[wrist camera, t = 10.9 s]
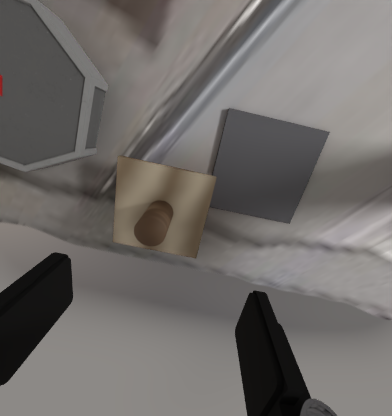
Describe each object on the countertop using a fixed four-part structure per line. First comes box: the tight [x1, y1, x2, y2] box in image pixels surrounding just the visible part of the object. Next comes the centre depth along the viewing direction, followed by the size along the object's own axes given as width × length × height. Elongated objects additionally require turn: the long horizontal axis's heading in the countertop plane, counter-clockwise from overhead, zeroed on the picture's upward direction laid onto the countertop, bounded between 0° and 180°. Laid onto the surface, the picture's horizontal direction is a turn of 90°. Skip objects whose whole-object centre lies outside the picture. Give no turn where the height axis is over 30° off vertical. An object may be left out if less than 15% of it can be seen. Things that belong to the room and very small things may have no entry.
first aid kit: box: [0, 0, 109, 172], centre depth 23 cm, size 18×8×25 cm
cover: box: [113, 156, 217, 258], centre depth 24 cm, size 13×13×7 cm
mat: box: [209, 108, 330, 224], centre depth 29 cm, size 15×15×1 cm
